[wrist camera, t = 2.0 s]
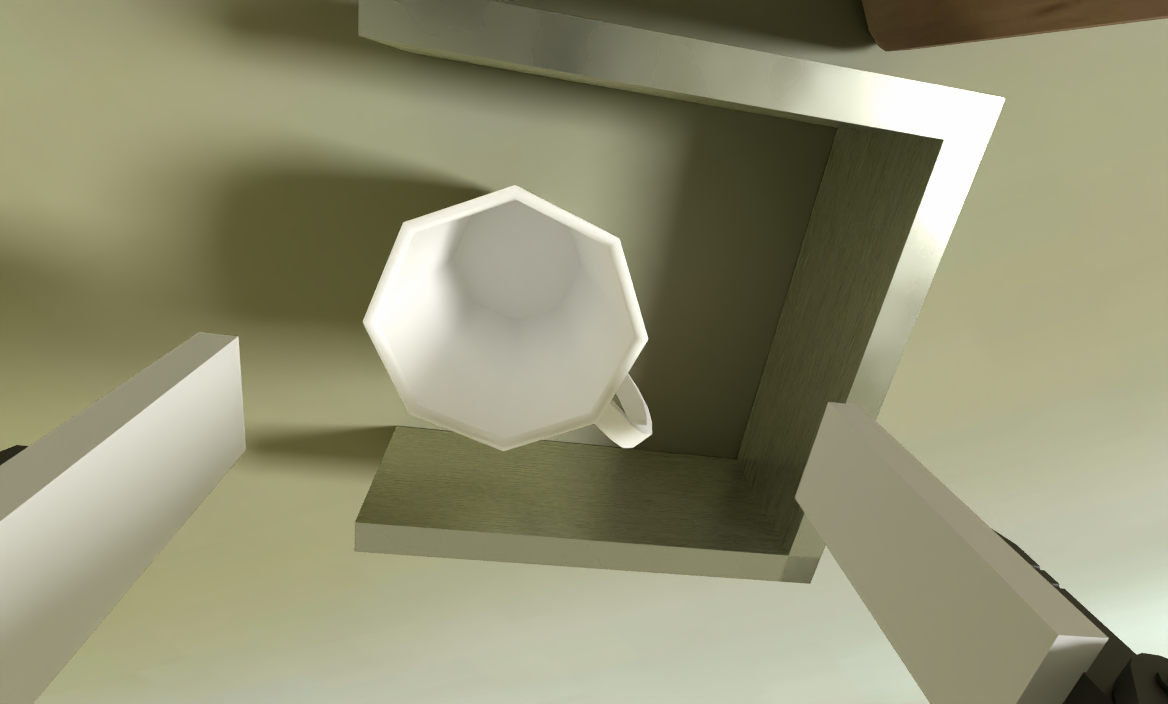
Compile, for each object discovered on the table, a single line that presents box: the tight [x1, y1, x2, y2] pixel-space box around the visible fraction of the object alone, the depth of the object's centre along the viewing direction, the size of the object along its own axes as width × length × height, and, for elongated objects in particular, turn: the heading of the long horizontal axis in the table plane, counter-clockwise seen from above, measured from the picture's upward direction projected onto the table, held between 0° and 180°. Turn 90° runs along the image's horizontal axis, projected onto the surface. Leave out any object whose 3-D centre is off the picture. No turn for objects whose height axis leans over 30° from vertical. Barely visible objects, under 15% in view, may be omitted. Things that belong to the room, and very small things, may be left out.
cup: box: [363, 185, 652, 451], centre depth 19 cm, size 7×10×8 cm
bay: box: [355, 0, 1005, 584], centre depth 20 cm, size 16×16×6 cm
